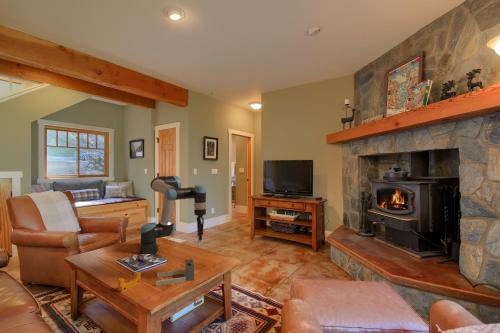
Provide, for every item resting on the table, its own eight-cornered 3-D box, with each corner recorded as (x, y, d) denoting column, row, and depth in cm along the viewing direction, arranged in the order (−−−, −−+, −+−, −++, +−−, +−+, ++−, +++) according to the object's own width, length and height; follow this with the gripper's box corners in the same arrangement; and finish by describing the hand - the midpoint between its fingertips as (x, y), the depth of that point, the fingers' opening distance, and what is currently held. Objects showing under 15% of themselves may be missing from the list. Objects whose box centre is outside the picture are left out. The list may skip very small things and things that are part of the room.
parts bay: (157, 276, 153) (157, 272, 153) (184, 273, 158) (184, 269, 158) (155, 285, 141) (155, 281, 141) (185, 281, 146) (185, 277, 146)
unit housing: (185, 273, 157) (185, 258, 157) (193, 272, 159) (193, 257, 159) (185, 280, 147) (185, 265, 147) (194, 279, 148) (194, 264, 149)
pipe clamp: (122, 292, 134) (122, 281, 134) (118, 290, 136) (118, 279, 136) (142, 284, 143) (142, 273, 144) (138, 282, 146) (138, 271, 146)
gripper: (192, 207, 160) (193, 242, 160) (195, 210, 148) (195, 248, 148) (204, 206, 163) (204, 241, 163) (207, 209, 151) (207, 246, 151)
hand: (200, 244), depth 155 cm, fingers closed
